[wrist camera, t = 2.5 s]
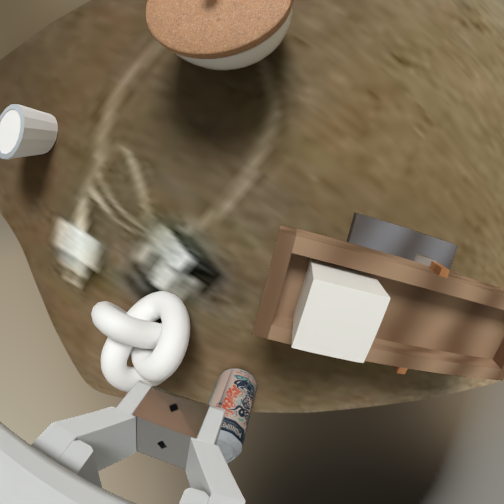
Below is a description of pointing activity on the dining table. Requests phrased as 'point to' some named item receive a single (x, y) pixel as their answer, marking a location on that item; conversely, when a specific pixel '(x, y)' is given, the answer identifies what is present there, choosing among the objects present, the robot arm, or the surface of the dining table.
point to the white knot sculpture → (143, 339)
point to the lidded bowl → (219, 29)
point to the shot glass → (26, 132)
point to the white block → (338, 311)
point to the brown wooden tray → (396, 298)
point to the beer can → (233, 409)
